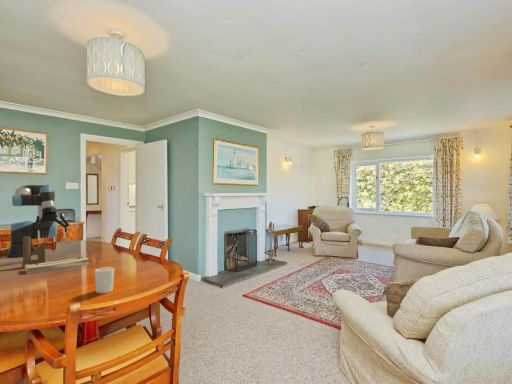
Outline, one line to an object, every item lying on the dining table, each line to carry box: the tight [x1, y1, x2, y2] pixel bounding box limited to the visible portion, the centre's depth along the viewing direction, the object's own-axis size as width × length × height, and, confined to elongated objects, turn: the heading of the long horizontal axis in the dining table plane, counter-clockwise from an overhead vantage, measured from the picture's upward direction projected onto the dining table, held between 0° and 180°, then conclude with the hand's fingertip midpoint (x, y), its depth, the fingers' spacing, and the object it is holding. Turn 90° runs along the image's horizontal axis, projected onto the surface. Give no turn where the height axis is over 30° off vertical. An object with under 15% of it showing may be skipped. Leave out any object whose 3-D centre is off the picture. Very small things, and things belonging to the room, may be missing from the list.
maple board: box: [24, 256, 90, 275], centre depth 168 cm, size 10×30×3 cm, turn 135°
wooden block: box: [21, 237, 46, 269], centre depth 169 cm, size 4×11×18 cm, turn 125°
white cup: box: [94, 266, 115, 294], centre depth 130 cm, size 8×8×10 cm
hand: (52, 238), depth 185 cm, fingers open, 13 cm apart
